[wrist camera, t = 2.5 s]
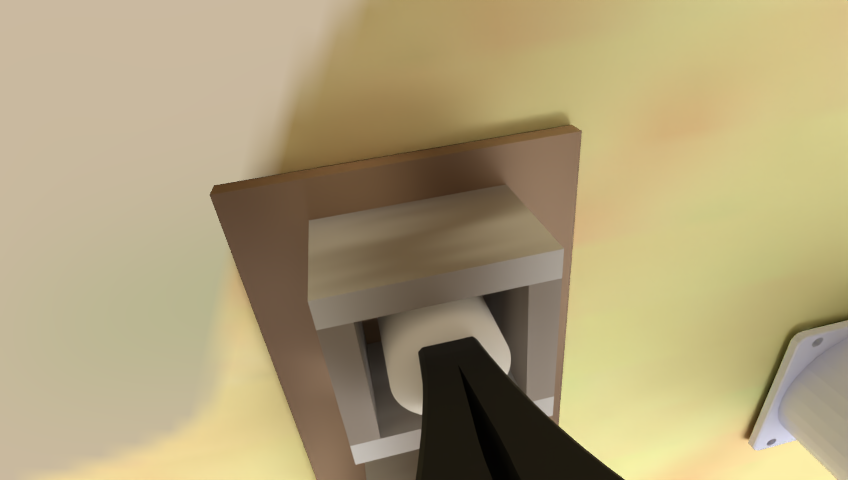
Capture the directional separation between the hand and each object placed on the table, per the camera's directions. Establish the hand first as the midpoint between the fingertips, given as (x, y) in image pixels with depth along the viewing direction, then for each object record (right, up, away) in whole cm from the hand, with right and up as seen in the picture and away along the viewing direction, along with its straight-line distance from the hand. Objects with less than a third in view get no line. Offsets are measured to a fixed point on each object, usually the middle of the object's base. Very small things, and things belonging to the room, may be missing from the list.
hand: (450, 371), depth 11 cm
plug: (-1, +2, +3) cm, 3 cm away
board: (0, -5, +8) cm, 9 cm away
